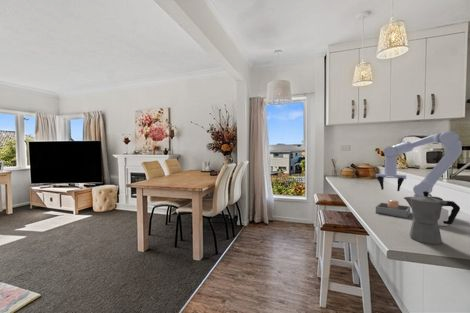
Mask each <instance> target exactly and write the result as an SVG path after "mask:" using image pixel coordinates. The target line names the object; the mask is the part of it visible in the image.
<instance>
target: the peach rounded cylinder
mask: <svg viewBox="0 0 470 313" xmlns="http://www.w3.org/2000/svg"><path fill="white" fill-rule="evenodd" d="M387 204H388V208H391V209H397V210H398V205H399V200H394V199H388V200H387Z"/></svg>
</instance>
